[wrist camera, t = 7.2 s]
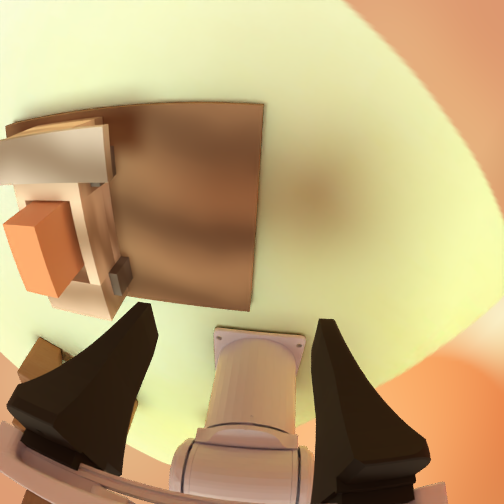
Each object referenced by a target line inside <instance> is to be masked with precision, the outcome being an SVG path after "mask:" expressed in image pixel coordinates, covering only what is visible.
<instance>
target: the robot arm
mask: <svg viewBox="0 0 504 504" xmlns="http://www.w3.org/2000/svg"><path fill="white" fill-rule="evenodd" d="M219 336H220V337H219ZM157 339H158V331H157V328H156V324H155V320H154V316H153V311H152V307H151V304H150V303H143V302H138V303H137V304H135V305H134V306H133V307H132V308H131V309H130V310H129V311H128V312H127V313H126V314H125V315H124V316H123V317H122V318H121V319H119V320H118V321H117V322H116V323H115V324H114V325H113V326H112V327H111V328H110V329H109V330H108V331H107V332H105V333H104V334H103V335H102V336H101V337H100V338H98V339H97V340H96V341H95V342H94V343H93V344H91V345H90V346H89V347H88V348H86V349H85V350H84V351H82V352H81V353H79V354H78V355H76V356H75V357H74V358H72V359H70V360H69V361H67V362H65V363H64V364H62V365H60V366H59V367H57V368H55V369H53V370H52V371H50V372H48V373H46V374H43V375H41V376H39V377H37V378H35V379H32V380H29V381H27V382H24V383H21V384H18V385H17V387H16V389H15V390H14V392H13V394H12V396H11V398H10V400H9V401H8V403H7V409H8V411H9V412H10V413H11V414H12V415H13V416H14V417H15V418H16V419H17V420H18V421H19V422H20V423H21V424H22V425H23V426H24V427H25V428H26V429H25V431H24V433H23V432H22V431H20V430H19V429H17V428H15V427H13V426H12V425H10V424H8V423H6V422H5V421H2V422H1V425H0V472H2V473H3V474H4V475H6V476H7V477H9V478H10V479H12V480H13V481H15V482H16V483H18V484H20V485H22V486H23V487H25V488H26V489H28V490H29V491H31V492H33V493H34V494H36V495H38V496H39V497H41V498H43V499H45V500H47V501H48V502H50V503H52V504H135V503H133V502H132V501H130V500H129V499H128V498H126V497H124V496H121V495H119V494H116V493H114V492H111V491H109V490H112V491H115V492H118V493H121V494H124V495H127V496H130V497H133V498H137V499H140V500H144V501H147V502H151V503H155V504H448V501H447V495H446V487H445V482H439V483H435V484H431V485H427V486H423V487H420V488H417V489H414V488H413V484H414V483H415V482H416V477H415V474H416V473H418V472H419V471H420V470H422V469H423V468H425V467H426V466H427V465H428V464H429V463H430V461H431V458H430V452H429V448H428V445H427V442H426V439H425V438H423V437H422V436H421V435H420V434H418V433H417V432H416V431H415V430H413V429H412V428H411V427H410V426H408V425H407V424H406V423H405V422H404V421H403V420H402V419H401V418H400V417H399V416H398V415H397V414H396V413H395V412H394V411H393V410H392V409H391V408H390V407H389V406H388V405H387V404H386V402H385V401H384V400H383V399H382V398H381V397H380V395H379V394H378V393H377V392H376V390H375V389H374V388H373V386H372V385H371V384H370V382H369V381H368V379H367V378H366V377H365V375H364V373H363V372H362V370H361V369H360V367H359V366H358V364H357V362H356V361H355V359H354V357H353V356H352V354H351V352H350V350H349V348H348V347H347V345H346V343H345V341H344V339H343V337H342V335H341V333H340V331H339V329H338V326H337V324H336V322H335V320H334V319H319V321H318V325H317V330H316V334H315V338H314V342H313V346H312V350H311V374H312V384H313V393H314V403H315V413H316V444H315V461H314V456H313V453H312V452H310V451H309V450H308V448H307V447H306V446H299V447H298V435H297V434H295V394H296V376H297V372H298V369H299V365H300V362H301V358H302V354H303V351H304V347H305V343H306V338H305V337H304V336H302V335H289V334H277V333H266V332H255V331H245V330H236V329H227V328H215V329H214V352H215V369H216V373H215V378H214V383H213V388H212V393H211V397H210V402H209V407H208V412H207V417H206V422H205V427H204V428H198V429H197V434H196V438H195V439H194V438H188V439H187V440H185V441H184V442H183V443H182V444H181V445H180V446H179V447H178V448H177V450H176V452H175V454H174V457H173V460H172V464H171V468H170V475H169V490H166V489H161V488H157V487H153V486H149V485H146V484H142V483H138V482H135V481H132V480H128V479H125V478H122V477H119V476H120V475H122V467H123V457H124V450H125V444H126V439H127V433H128V428H129V424H130V419H131V415H132V411H133V407H134V403H135V400H136V397H137V394H138V392H139V389H140V387H141V384H142V382H143V379H144V377H145V374H146V372H147V370H148V367H149V365H150V362H151V360H152V357H153V354H154V351H155V347H156V343H157ZM107 489H109V490H107Z"/></svg>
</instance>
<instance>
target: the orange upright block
mask: <svg viewBox="0 0 504 504" xmlns="http://www.w3.org/2000/svg"><path fill="white" fill-rule="evenodd" d="M3 227H4V230H5V233H6V236H7V239H8V242H9V245H10V248H11V251H12V254H13V257H14V260H15V262H16V265H17V268H18V270H19V273H20V275H21V278H22V280H23V283H24V285H25V288H26V290H27V291H29V292H33V293H38V294H42V295H46V296H50V297H55V298H59V297H60V295H61V294H62V293H63V291H64V290H65V289H66V288H67V286H68V285H69V284H70V282H71V281H72V280H73V279H74V277H75V276H76V275H77V274H78V272H79V271H80V270H81V269H82V267H83V266H84V265H85V264H84V260H83V257H82V253H81V249H80V245H79V241H78V237H77V233H76V229H75V224H74V220H73V215H72V211H71V206H70V201H41V200H34V201H33V202H31V203H30V204H28V205H27V206H26V207H24V208H23V209H22V210H20V211H19V212H18V213H16V214H15V215H14V216H13V217H11V218H10V219H9V220H8V221H6V222H5V223H4V224H3Z"/></svg>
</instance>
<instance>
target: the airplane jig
mask: <svg viewBox="0 0 504 504" xmlns="http://www.w3.org/2000/svg"><path fill="white" fill-rule="evenodd" d="M263 108H264V104H251V103H227V102H173V103H150V104H135V105H123V106H112V107H103V108H94V109H87V110H80V111H73V112H66V113H60V114H55V115H49V116H44V117H39V118H34V119H29V120H25V121H20V122H16V123H12V124H10V125H7V126H5V127H6V136H7V138H6V139H2V140H0V185H14V190H15V194H16V198H17V203H18V207H19V211H20V210H22V209H23V208H24V207H26V206H27V205H28V204H30V203H31V202H33V201H34V200H41V201H70V206H71V211H72V215H73V220H74V224H75V229H76V233H77V237H78V241H79V245H80V249H81V253H82V257H83V260H84V264H85V265H84V266H83V267H82V269H81V270H80V271H79V272H78V274H77V275H76V276H75V277H74V279H73V280H72V281H71V282H70V284H69V285H68V286H67V288H66V289H65V290H64V291H63V293H62V294H61V295H60V297H59V298H55V297H50V296H48V298H49V300H50V302H51V305H52V307H53V308H56V309H60V310H64V311H69V312H73V313H77V314H82V315H86V316H91V317H95V318H100V319H105V320H110V321H112V320H113V318H114V316H115V314H116V313H117V311H118V309H119V307H120V306H121V304H122V302H123V300H124V299H125V297H126V296H131V297H137V298H144V299H150V300H157V301H164V302H172V303H179V304H187V305H194V306H203V307H211V308H220V309H228V310H238V311H247V312H249V311H250V304H251V291H252V276H253V261H254V246H255V230H256V215H257V200H258V185H259V170H260V154H261V139H262V123H263Z"/></svg>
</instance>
